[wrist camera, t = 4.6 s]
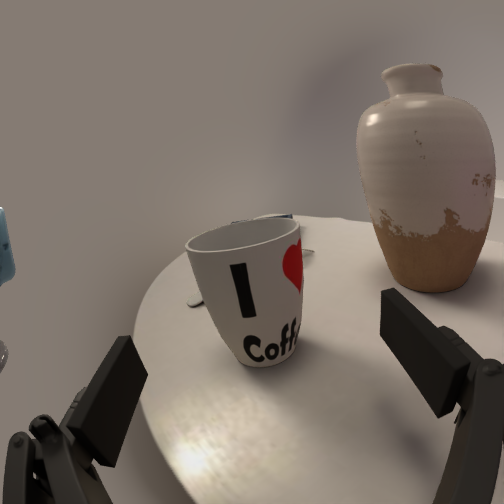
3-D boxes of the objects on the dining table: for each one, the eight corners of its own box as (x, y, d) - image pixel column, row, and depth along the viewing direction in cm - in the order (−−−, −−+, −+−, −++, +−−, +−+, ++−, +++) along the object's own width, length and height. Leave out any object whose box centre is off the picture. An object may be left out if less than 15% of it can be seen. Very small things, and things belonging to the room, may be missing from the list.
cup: (244, 396, 18) (208, 262, 15) (204, 345, 25) (173, 240, 22) (333, 346, 21) (324, 223, 18) (278, 312, 28) (261, 214, 25)
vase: (463, 327, 18) (446, 36, 12) (340, 281, 32) (310, 78, 25) (502, 264, 25) (491, 78, 18) (409, 243, 38) (392, 91, 32)
